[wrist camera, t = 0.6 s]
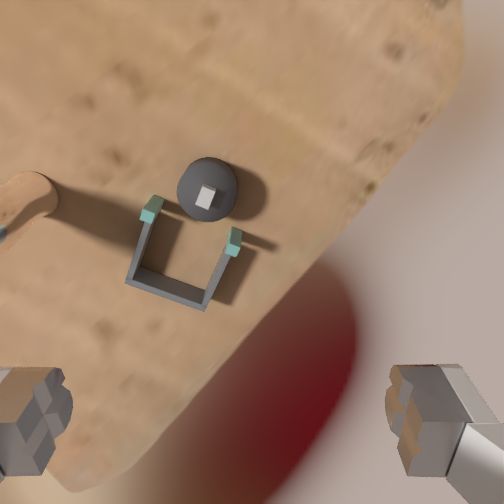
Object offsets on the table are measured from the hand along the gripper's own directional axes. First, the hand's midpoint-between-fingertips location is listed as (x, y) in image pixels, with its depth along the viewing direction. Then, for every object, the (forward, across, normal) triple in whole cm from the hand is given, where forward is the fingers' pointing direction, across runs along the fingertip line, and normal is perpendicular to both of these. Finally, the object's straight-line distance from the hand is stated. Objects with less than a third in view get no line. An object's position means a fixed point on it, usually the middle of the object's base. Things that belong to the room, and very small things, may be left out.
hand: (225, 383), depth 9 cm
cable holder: (+39, +10, +17) cm, 44 cm away
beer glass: (+39, +28, +8) cm, 49 cm away
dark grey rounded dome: (+39, +6, +7) cm, 40 cm away
